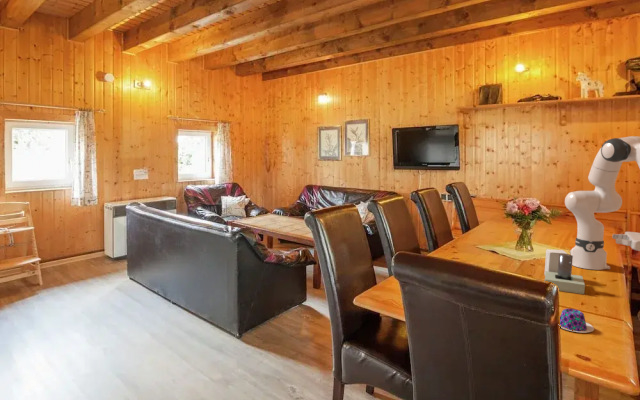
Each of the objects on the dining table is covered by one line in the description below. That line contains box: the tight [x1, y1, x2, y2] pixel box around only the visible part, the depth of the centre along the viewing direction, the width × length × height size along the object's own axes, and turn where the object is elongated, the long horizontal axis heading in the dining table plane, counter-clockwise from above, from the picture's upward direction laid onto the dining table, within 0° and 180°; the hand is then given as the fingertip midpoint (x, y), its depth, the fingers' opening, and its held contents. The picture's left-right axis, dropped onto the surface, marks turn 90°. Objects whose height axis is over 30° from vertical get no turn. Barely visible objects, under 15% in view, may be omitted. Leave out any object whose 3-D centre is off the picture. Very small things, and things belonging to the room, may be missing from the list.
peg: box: [557, 253, 573, 281], centre depth 168 cm, size 5×5×14 cm
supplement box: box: [543, 248, 568, 276], centre depth 181 cm, size 7×7×13 cm
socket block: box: [544, 270, 586, 295], centre depth 169 cm, size 14×14×4 cm
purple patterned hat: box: [559, 308, 595, 334], centre depth 130 cm, size 12×12×5 cm
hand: (614, 238), depth 161 cm, fingers open, 8 cm apart
